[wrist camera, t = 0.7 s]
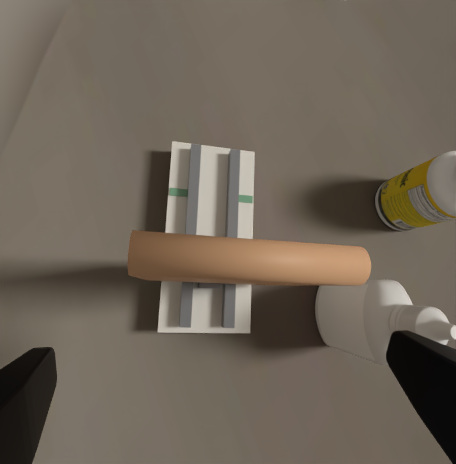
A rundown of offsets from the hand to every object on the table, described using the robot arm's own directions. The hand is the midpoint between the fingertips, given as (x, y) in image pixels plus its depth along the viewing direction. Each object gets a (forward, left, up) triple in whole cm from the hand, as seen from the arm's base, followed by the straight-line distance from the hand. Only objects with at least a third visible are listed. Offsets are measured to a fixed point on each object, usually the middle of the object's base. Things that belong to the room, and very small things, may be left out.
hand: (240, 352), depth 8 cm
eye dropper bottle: (+7, -11, -18) cm, 22 cm away
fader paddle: (+3, +1, -15) cm, 15 cm away
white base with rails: (+5, +2, -17) cm, 18 cm away
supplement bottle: (+20, -11, -18) cm, 29 cm away
